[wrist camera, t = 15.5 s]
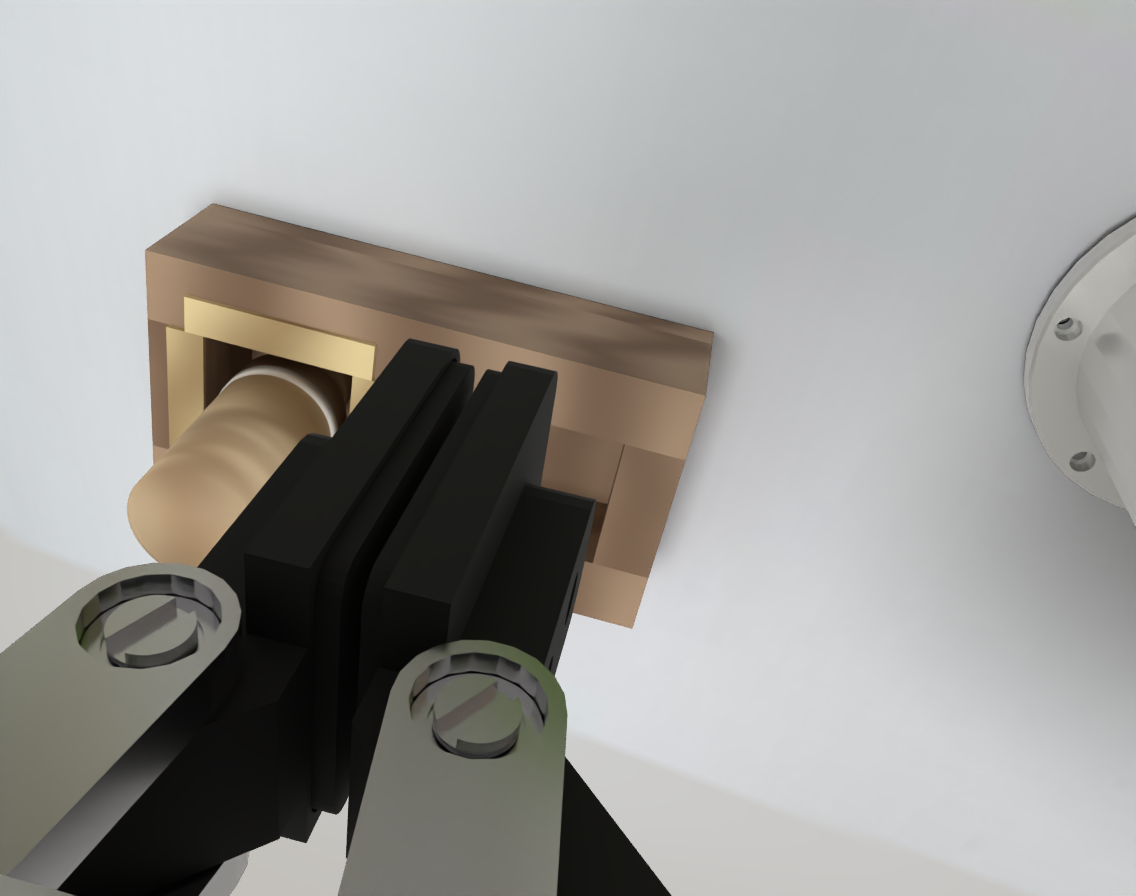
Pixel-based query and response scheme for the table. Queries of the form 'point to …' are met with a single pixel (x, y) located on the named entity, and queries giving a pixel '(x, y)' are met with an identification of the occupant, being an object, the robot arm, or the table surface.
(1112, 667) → the table surface
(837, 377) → the table surface
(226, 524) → the peg
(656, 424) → the board
